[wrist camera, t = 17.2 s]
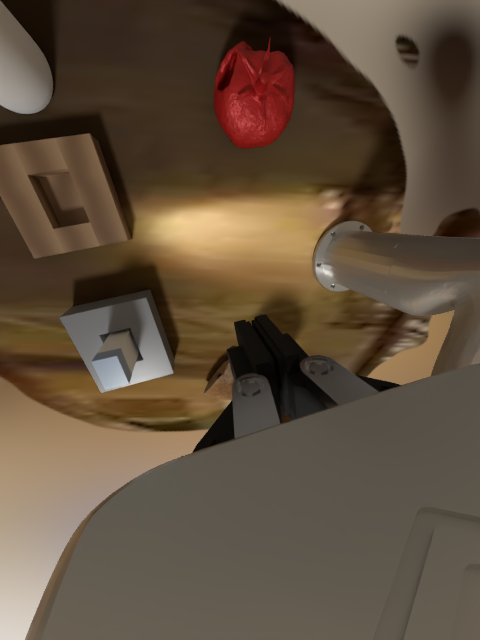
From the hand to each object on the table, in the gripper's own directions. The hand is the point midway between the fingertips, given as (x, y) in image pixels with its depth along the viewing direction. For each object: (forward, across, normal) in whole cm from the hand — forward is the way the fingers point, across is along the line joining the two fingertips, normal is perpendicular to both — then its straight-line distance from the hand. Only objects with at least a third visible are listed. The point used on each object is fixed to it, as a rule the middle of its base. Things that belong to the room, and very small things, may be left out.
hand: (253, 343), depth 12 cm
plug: (+28, +16, +10) cm, 34 cm away
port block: (+29, +16, +10) cm, 35 cm away
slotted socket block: (+29, +16, -11) cm, 35 cm away
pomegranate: (+29, -10, -18) cm, 36 cm away
